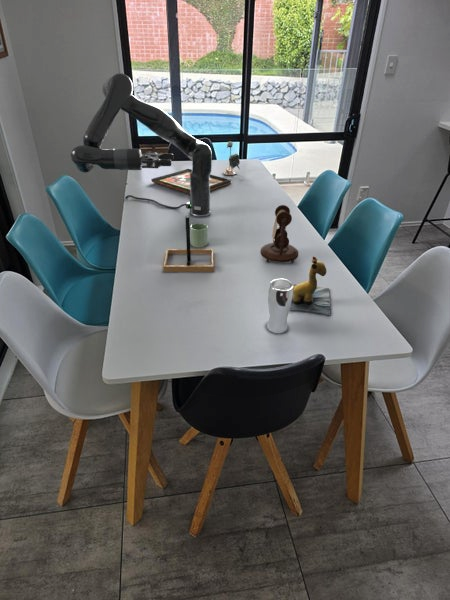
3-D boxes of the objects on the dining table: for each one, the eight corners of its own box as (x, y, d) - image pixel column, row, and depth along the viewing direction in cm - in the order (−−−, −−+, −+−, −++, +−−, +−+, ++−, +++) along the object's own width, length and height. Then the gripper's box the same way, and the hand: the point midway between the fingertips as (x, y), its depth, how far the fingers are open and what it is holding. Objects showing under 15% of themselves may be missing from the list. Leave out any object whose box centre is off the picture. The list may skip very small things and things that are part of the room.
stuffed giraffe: (330, 315, 125) (337, 270, 116) (272, 310, 128) (275, 265, 119) (328, 290, 138) (334, 248, 130) (276, 286, 141) (279, 244, 133)
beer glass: (263, 320, 122) (267, 278, 114) (286, 319, 123) (291, 277, 114) (267, 334, 116) (271, 291, 108) (291, 333, 117) (297, 290, 109)
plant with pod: (241, 175, 249) (242, 141, 238) (223, 175, 247) (224, 141, 236) (238, 171, 256) (240, 138, 244) (221, 172, 254) (221, 138, 243)
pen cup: (191, 240, 168) (190, 223, 164) (207, 240, 169) (207, 223, 164) (190, 248, 163) (189, 230, 158) (207, 248, 163) (207, 230, 158)
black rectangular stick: (187, 260, 153) (185, 216, 143) (191, 260, 153) (189, 216, 143) (186, 265, 149) (185, 220, 139) (190, 265, 149) (189, 220, 139)
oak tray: (163, 272, 146) (163, 266, 145) (167, 254, 158) (166, 249, 156) (213, 272, 147) (213, 266, 145) (212, 254, 158) (212, 249, 157)
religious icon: (234, 181, 237) (234, 177, 236) (200, 198, 212) (200, 193, 211) (183, 171, 254) (183, 166, 252) (146, 185, 229) (146, 180, 227)
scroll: (259, 247, 164) (263, 200, 153) (295, 249, 164) (301, 201, 153) (261, 265, 152) (265, 215, 141) (299, 266, 151) (306, 216, 140)
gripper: (123, 153, 139) (170, 154, 139) (129, 144, 150) (173, 144, 151) (125, 175, 143) (171, 175, 143) (132, 164, 155) (174, 164, 155)
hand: (172, 159), depth 147 cm, fingers open, 8 cm apart
